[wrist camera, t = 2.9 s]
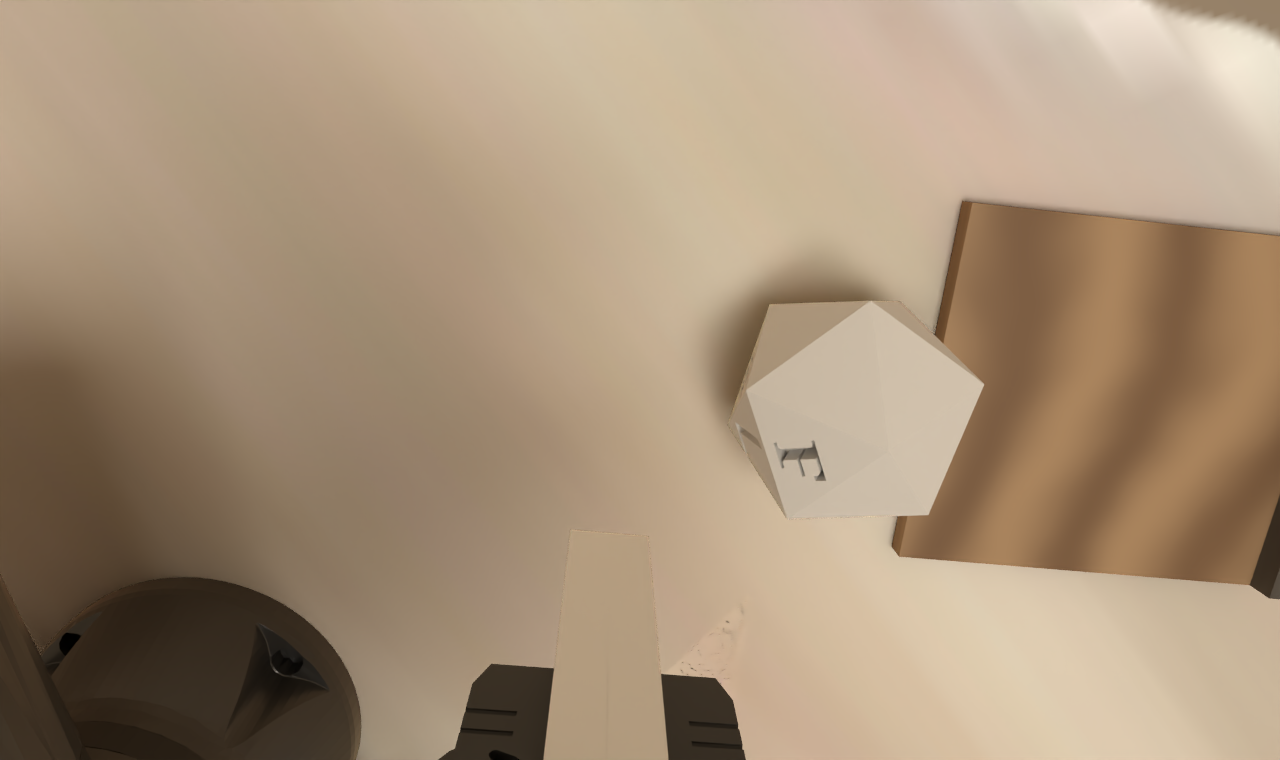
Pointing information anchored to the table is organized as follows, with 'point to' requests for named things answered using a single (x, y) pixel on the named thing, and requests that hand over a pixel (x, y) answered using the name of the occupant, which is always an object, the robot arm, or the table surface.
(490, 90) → the table surface
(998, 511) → the board
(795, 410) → the die
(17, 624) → the robot arm
